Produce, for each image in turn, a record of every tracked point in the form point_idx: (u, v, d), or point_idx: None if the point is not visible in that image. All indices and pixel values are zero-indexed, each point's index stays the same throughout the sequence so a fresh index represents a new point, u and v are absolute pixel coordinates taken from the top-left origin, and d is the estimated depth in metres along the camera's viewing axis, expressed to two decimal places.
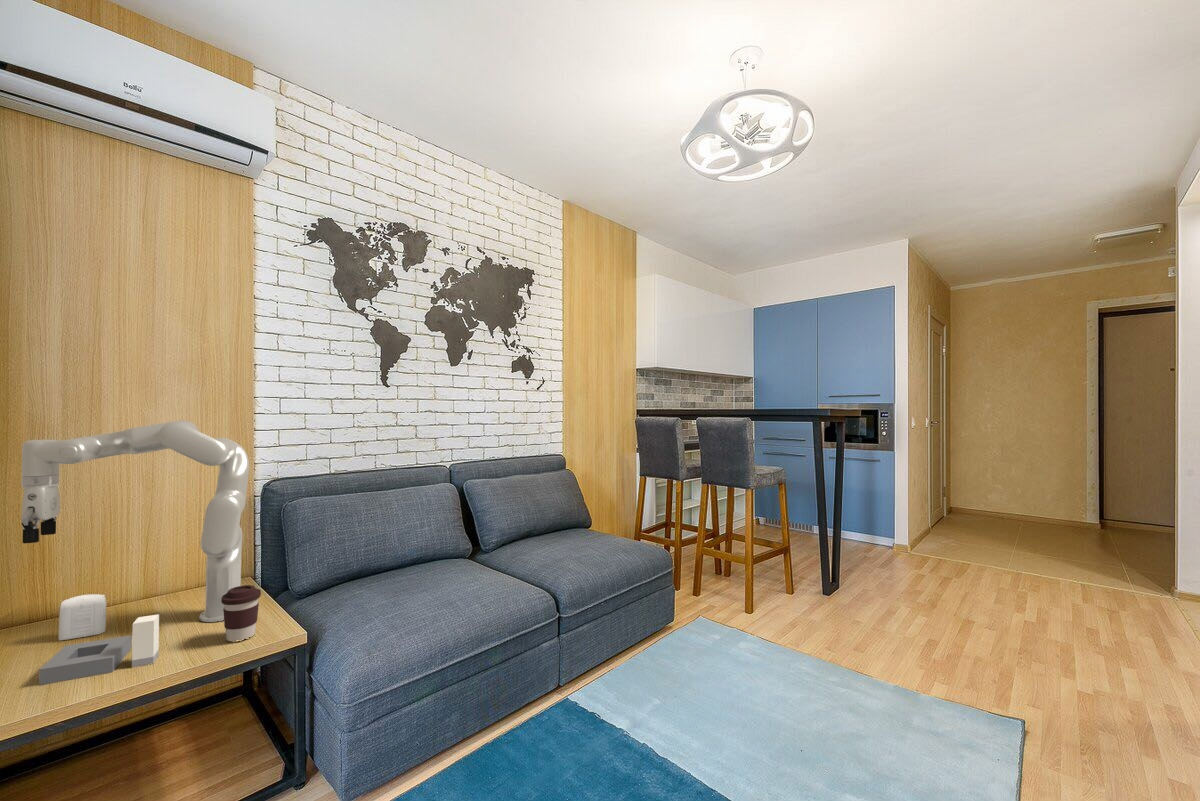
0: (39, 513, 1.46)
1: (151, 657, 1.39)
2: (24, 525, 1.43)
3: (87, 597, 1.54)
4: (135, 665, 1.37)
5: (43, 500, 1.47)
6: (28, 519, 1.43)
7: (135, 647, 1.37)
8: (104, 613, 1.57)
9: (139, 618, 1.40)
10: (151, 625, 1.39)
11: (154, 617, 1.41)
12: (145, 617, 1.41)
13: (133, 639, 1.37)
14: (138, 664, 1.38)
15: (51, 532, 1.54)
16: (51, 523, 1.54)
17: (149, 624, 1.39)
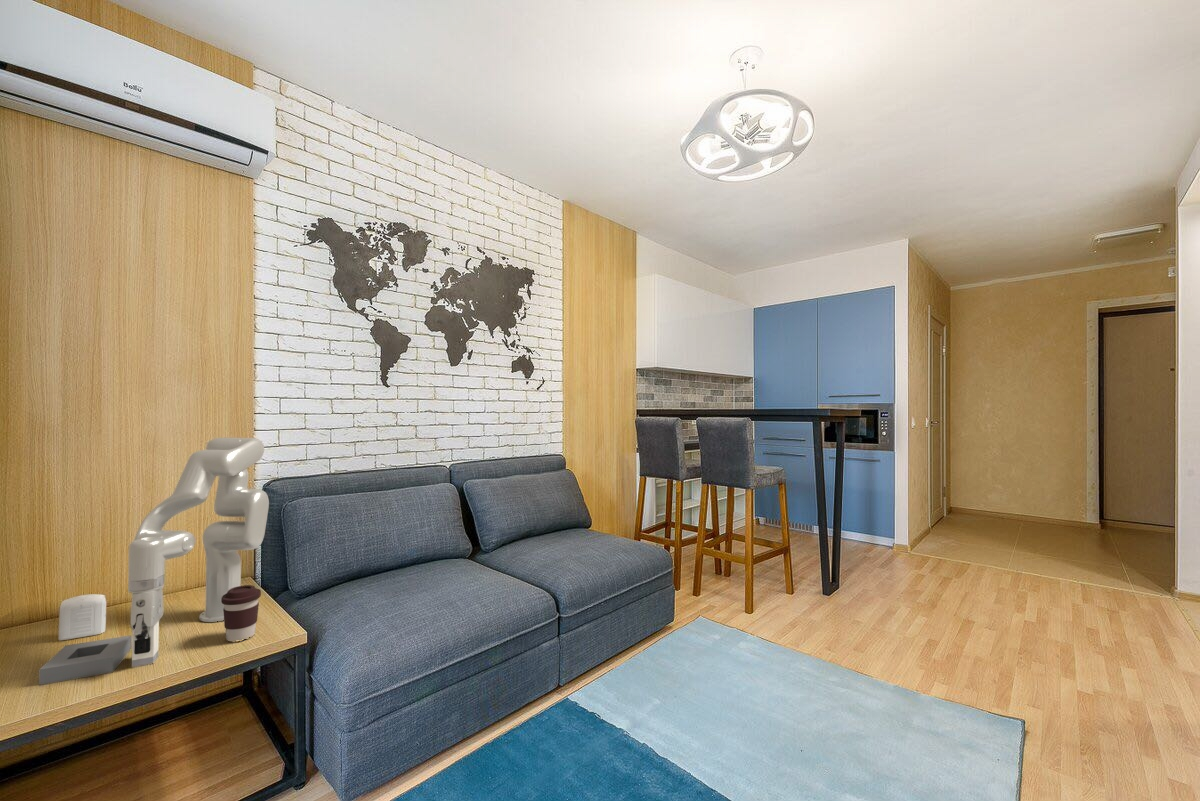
0: (148, 620, 1.36)
1: (151, 657, 1.39)
2: (137, 636, 1.35)
3: (87, 597, 1.54)
4: (135, 665, 1.37)
5: (152, 606, 1.37)
6: (141, 632, 1.35)
7: None
8: (104, 613, 1.57)
9: None
10: None
11: None
12: None
13: (133, 639, 1.37)
14: (138, 664, 1.38)
15: None
16: None
17: None
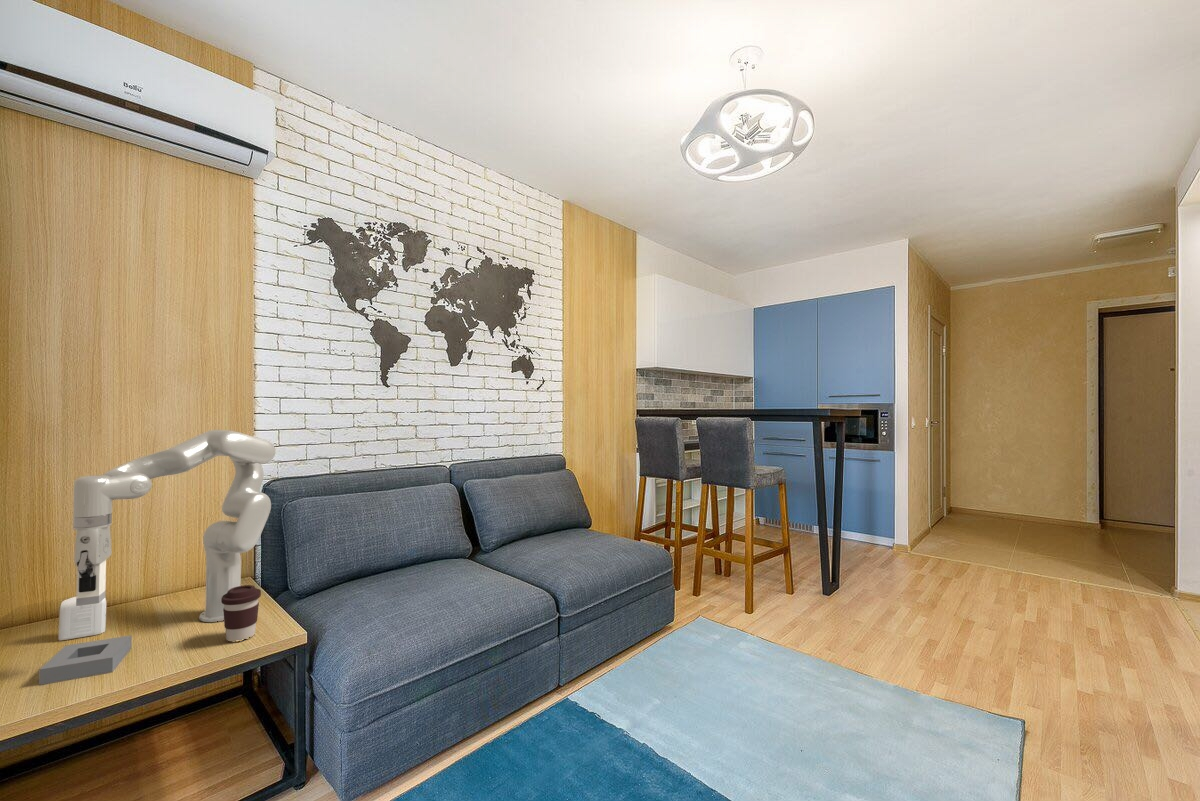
0: (93, 557, 1.34)
1: (97, 596, 1.36)
2: (81, 573, 1.33)
3: None
4: (79, 604, 1.35)
5: (97, 543, 1.35)
6: (85, 569, 1.33)
7: None
8: (104, 613, 1.57)
9: None
10: None
11: None
12: None
13: (77, 577, 1.35)
14: (83, 603, 1.35)
15: None
16: None
17: None
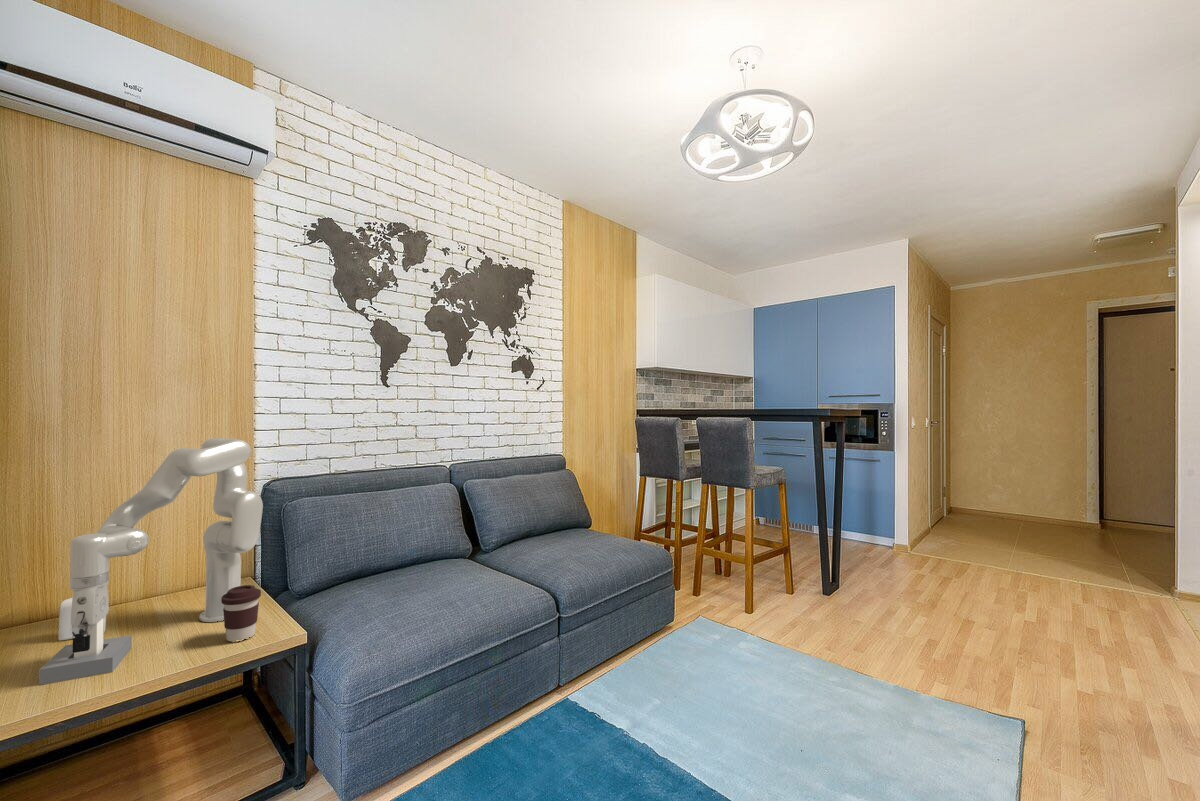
0: (89, 618, 1.34)
1: None
2: (75, 634, 1.31)
3: None
4: None
5: (93, 603, 1.35)
6: (79, 628, 1.31)
7: None
8: None
9: None
10: (93, 629, 1.36)
11: None
12: None
13: None
14: None
15: None
16: None
17: (92, 627, 1.36)
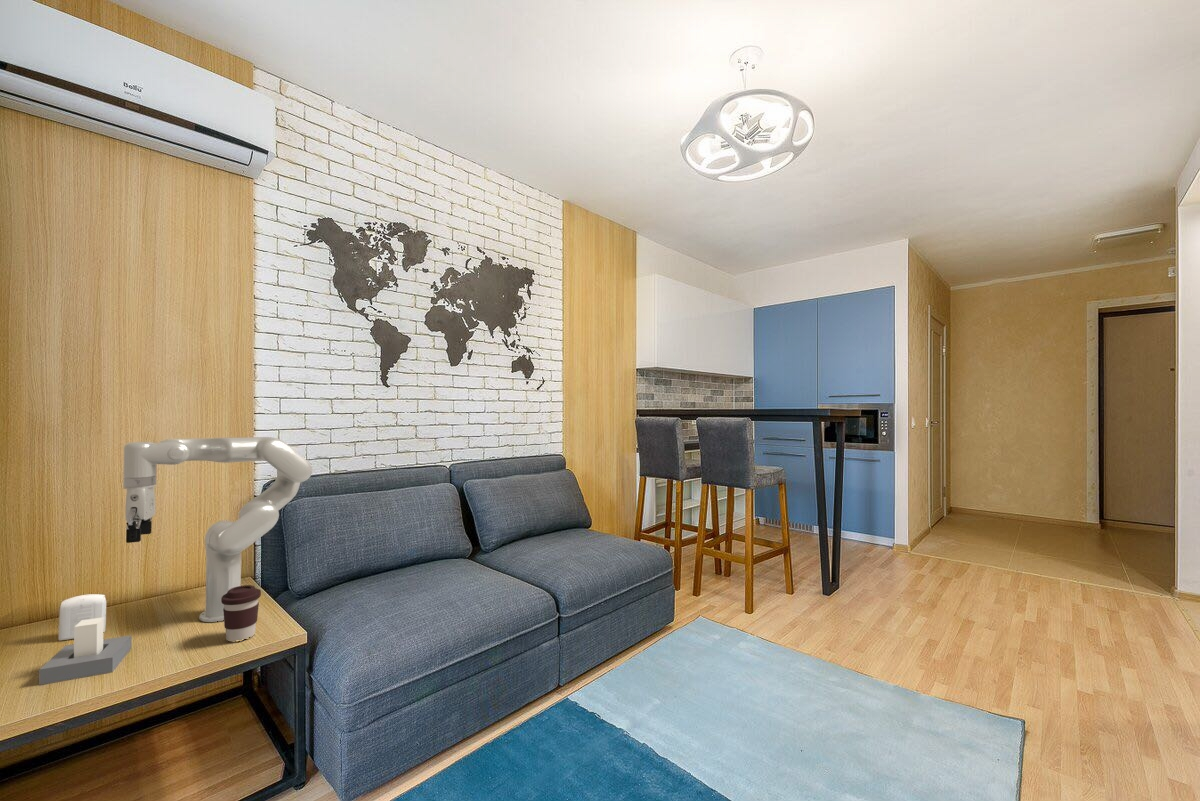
0: (141, 513, 1.51)
1: None
2: (129, 525, 1.48)
3: (87, 597, 1.54)
4: None
5: (144, 501, 1.52)
6: (132, 519, 1.48)
7: (76, 651, 1.35)
8: (104, 613, 1.57)
9: (82, 621, 1.38)
10: (93, 629, 1.36)
11: (98, 620, 1.39)
12: (88, 620, 1.39)
13: (75, 642, 1.35)
14: None
15: (147, 532, 1.59)
16: (147, 523, 1.59)
17: (92, 627, 1.36)
